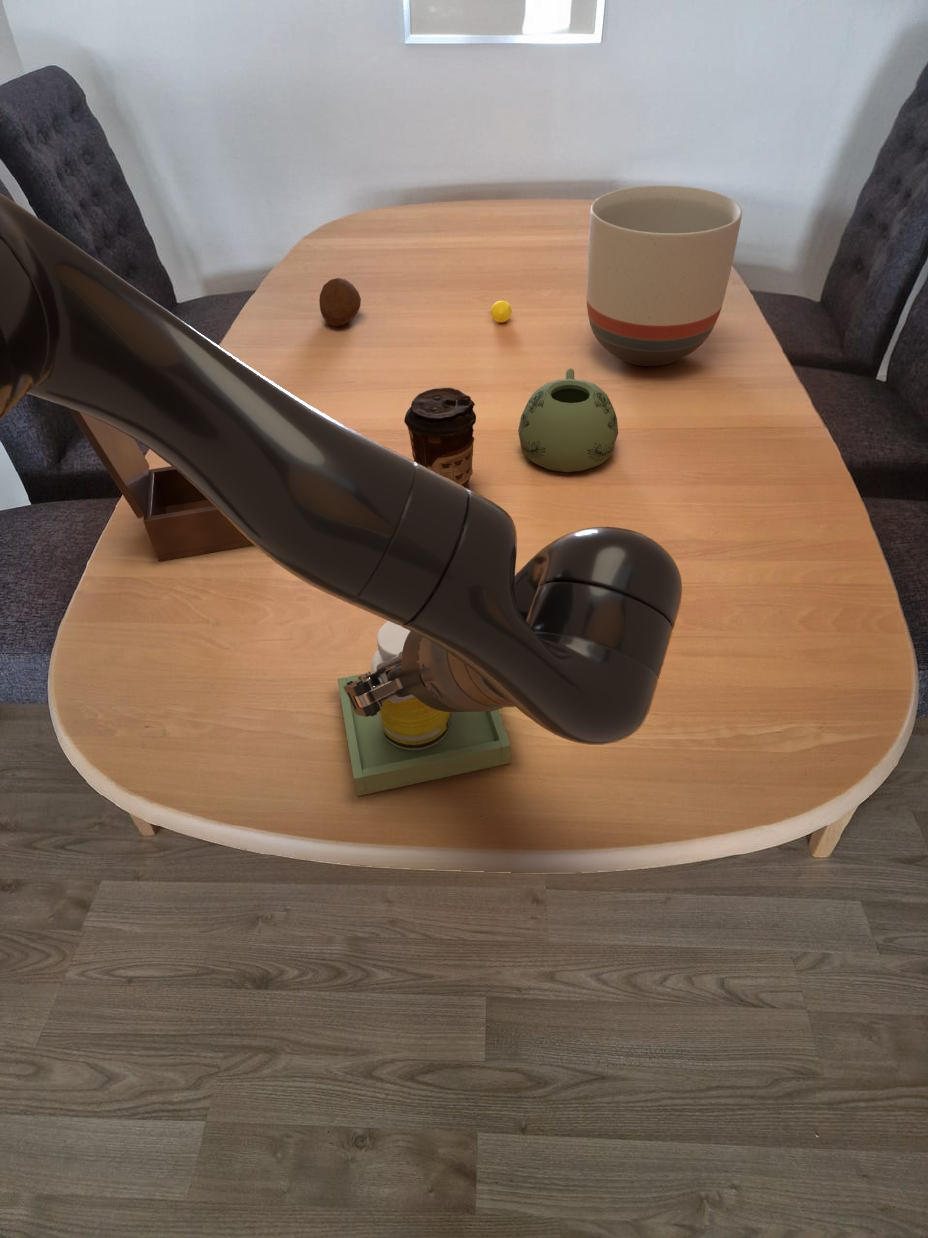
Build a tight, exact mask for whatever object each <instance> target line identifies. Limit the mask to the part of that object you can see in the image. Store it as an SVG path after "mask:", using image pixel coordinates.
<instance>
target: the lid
mask: <svg viewBox="0 0 928 1238" xmlns="http://www.w3.org/2000/svg"><path fill="white" fill-rule="evenodd" d="M66 409H67V410H68V412H69V413H70V415H71V417H72V418H73V419H74V421H75V422H76V424H77V426H78V427H79V429H80V431H81V432H82V433H83V436H84V437H85V438H86V440H87V442H88V444H89V445H90V446H91V448H92V449H93V450H94V452H95V454H96V455H97V457H98V459H99V460H100V462H101V463H102V465H103V467H104V468H105V469H106V471H107V473H108V474H109V476H110V477H111V479H112V480H113V483H114V484H115V485H116V487H117V488H118V490H119V491H120V493H121V495H122V497H123V498H124V500H125V501H126V502H127V504H128V505H129V507H130V509H131V510H132V512H133V513H134V515H135V516H136V518H137V519H143V518H144V517H145V511H146V499H147V487H148V475H149V470H150V463H149V462H148V460H147V458H146V456H145V455H144V454H143V452H142V450H141V448H140V446H139V445H138V443H137V440H135V439H134V438H132V437H130V436H128V435H127V434H125V433H123V432H122V431H120V430H118V429H116V428H114V427H112V426H110V425H108V424H106V423H104V422H102V421H100V420H98V419H96V418H93V417H91V416H89V415H86V414H84V413H81V412H78V411H76V410H73V409H71V408H68V407H66Z"/></svg>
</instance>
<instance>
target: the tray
mask: <svg viewBox="0 0 928 1238" xmlns="http://www.w3.org/2000/svg"><path fill="white" fill-rule="evenodd" d="M363 674H364V673H360V674H356V675H350V676H344V677H338V678H337V680H336V681H337V687H338V692H339V697H340V704H341V709H342V716H343V722H344V728H345V729H344V730H345V735H346V741H347V745H348V753H349V758H350V765H351V770H352V777H353V783H354V787H355V790H356V795H357V797H360V796H365V795H370V794H374V793H379V792H383V791H388V790H392V789H397V788H402V787H406V786H411V785H415V784H421V783H423V782H424V783H426V782H430V781H434V780H439V779H443V778H447V777H452V776H453V777H454V776H458V775H461V774H467V773H472V772H475V771H480V770H485V769H489V768H494V767H499V766H503V765H507V764H511V751H512V749H511V748H512V747H511V746H512V745H511V741H510V740H509V737H508V733H507V730H506V728H505V725H504V722H503V719H502V717H501V714H500V709H499V710H495V711H487V712H451V724H450V728H449V730H448V732H447V734H446V736H445V737H444V738H443V739H442V740H441V741H440V742H438V743H437V744H435V745H434V746H432V747H429V748H426V749H422V750H405V749H402V748H399V747H397V746H395V745H393V744H392V743H390V742H389V741H388V740H387V739H386V737H385V736H384V734H383V732H382V729H381V725H380V719H379V712H377V714H376V715H375V716H372V717H371V716H368V717H364V716H360V715H356V713H355V711H354V708H353V706H352V703H351V701H350V699H349V697H348V695H347V693H346V692H345V690H344V688H343V686H345V685H347V683H348V682H350V681H353V682H354V681H356V680H358V677H359V676H361V675H363Z"/></svg>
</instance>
